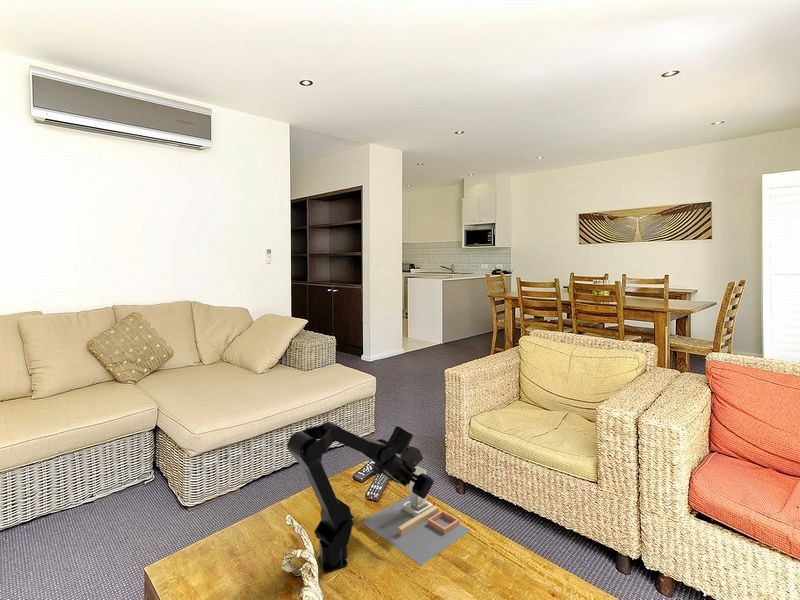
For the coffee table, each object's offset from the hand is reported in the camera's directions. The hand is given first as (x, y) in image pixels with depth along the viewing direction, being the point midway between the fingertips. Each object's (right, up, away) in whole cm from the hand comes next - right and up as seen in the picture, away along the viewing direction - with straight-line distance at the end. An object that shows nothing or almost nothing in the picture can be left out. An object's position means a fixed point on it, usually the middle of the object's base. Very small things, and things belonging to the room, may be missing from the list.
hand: (420, 487), depth 140 cm
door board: (-2, -9, -9) cm, 13 cm away
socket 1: (-1, -7, 0) cm, 7 cm away
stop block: (-1, -7, 0) cm, 7 cm away
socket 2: (+7, -7, -8) cm, 13 cm away
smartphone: (-20, -9, +4) cm, 22 cm away
